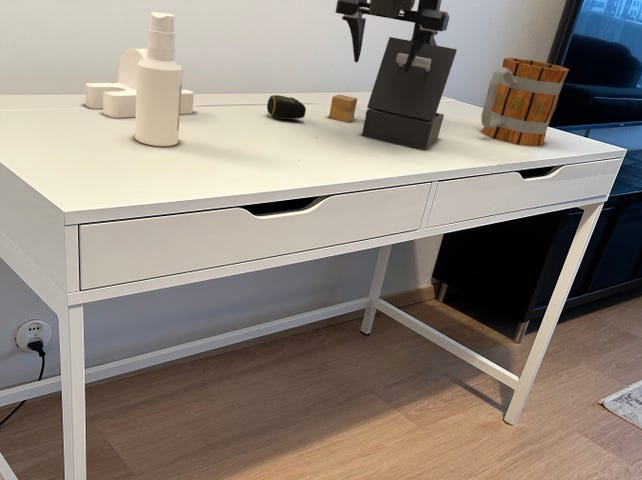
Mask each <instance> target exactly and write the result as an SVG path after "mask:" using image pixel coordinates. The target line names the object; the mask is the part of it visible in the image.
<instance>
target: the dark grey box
mask: <svg viewBox="0 0 642 480" xmlns="http://www.w3.org/2000/svg"><path fill="white" fill-rule="evenodd" d="M444 116H445V114H444V113H440V112H436V115H435V118H434V121H433V122H429V121H424V120H420V119H415V118H411V117H406V116H401V115H397V114H392V113H388V112H383V111H379V110H374V109H369V108H367V109H366V111H365V117H364V122H363V127H362V131H361V136H362V137H366V138H370V139H374V140H379V141H384V142H387V143H391V144H396V145H399V146H404V147H409V148H413V149H418V150H422V151H426V150H427V149H429V148H430V146H432V145H433V144H434V143H435V142H436V141H437V140H438V139H439V134H440V132H441V128H442V124H443V120H444Z"/></svg>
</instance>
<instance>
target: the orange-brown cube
mask: <svg viewBox="0 0 642 480" xmlns="http://www.w3.org/2000/svg"><path fill="white" fill-rule="evenodd" d="M357 103H358V98H357V97H353V96H349V95H344V94H336V95H334V96H332V97H331V104H330V110H329V116H328V118H329V119H331V120H336V121H341V122H346V123H349V122H351V121H352V120H354V119H355V114H356V109H357V105H358V104H357Z"/></svg>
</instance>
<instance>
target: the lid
mask: <svg viewBox="0 0 642 480" xmlns="http://www.w3.org/2000/svg"><path fill="white" fill-rule="evenodd" d="M412 43H413V41H410V40H408V39H404V38H398V37H391V36H389V37H388V40H387V43H386V47H385V50H384V52H383V55H382V56H383V57H382V59H381V61H380V65H379V68H378V71H377V75H376V78H375V80H374V84H373V87H372V90H371V94H370V97H369V99H368V103H367V105H366V107H367V109H374V110H379V111H383V112H388V113H392V114H397V115H401V116H406V117H411V118H415V119H420V120H424V121H429V122H433V121H434V118H435V115H436V113H438V108H439V106H440V102H441V99H442V96H443V94H444V90H445V87H446V86H447V85H446V84H447V82H448V79H449V75H450V72H451V69H452V66H453V63H454V60H455V57H456V54H457V52H458V51H457V50H458V49H457V48H452V47H448V46H447V47H446V46H442V45H437V44H436V45H437V46H436V45H431V44H424V45H423V47H422V48H421V50H420V51H419V53H418V55H417V56H416V58H415V60H414V61H413V63H412V65H411V67H410V68H409V70H408V72H404V71H405V66H406V62H407V59H408V56H409V52H410V49H411V46H412Z"/></svg>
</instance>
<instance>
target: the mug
mask: <svg viewBox="0 0 642 480" xmlns="http://www.w3.org/2000/svg"><path fill="white" fill-rule="evenodd" d="M569 72H570V68H567V67H564V66H560V65H556V64H552V63H548V62H542V61H537V60H531V59H525V58H517V57H505V58H503V62H502V67H500V68H499V69H497V70H495V71H494V72H493V74H492V77H491V79H490V81H489V84H488V89H487V93H486V94H487V95H486V98H485V101H484V105H483V108H482V112H481V125H482V126H483V128H482V131H481V133H483V134H484V135H486V136H489V137H490V138H492V139H495V140H498V141H502V142H507V143H511V144H515V145H519V146H520V145H521V146H532V147H540V146H541V145H542V144H543V143H545V139H546V134H547V130H548V127H549V125H550V122H551V119H552V117H553V114H554V113H555V110H556V108H557V104H558V101H559V97H560V94H561V90H562V88H563V85H564V82H565V80H566V78H567V76H568V73H569Z"/></svg>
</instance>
